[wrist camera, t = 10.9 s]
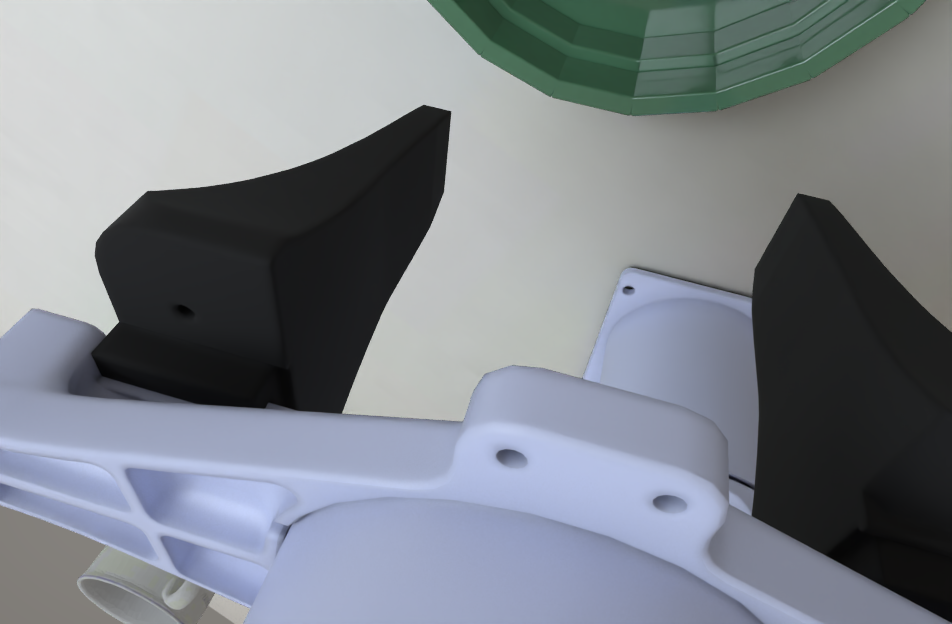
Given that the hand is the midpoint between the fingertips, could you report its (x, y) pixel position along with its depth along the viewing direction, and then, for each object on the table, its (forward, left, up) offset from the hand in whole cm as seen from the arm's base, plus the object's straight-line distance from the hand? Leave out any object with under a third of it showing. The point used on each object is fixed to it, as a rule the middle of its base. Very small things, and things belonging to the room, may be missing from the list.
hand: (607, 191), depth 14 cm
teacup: (-54, +27, -11) cm, 61 cm away
